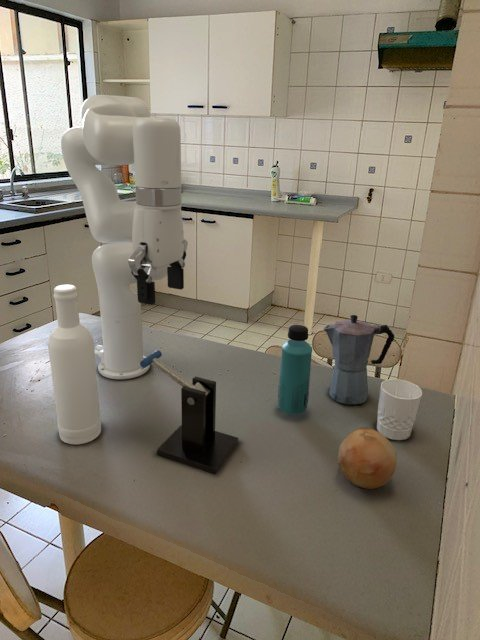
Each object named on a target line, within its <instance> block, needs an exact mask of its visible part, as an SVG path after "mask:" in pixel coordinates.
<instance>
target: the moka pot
mask: <svg viewBox="0 0 480 640" xmlns="http://www.w3.org/2000/svg"><path fill="white" fill-rule="evenodd" d="M322 330H323V331H325V333H326V335H327V338H328V340H329V342H330V344H331V347H332V357H333V358H334V365H333V366H332V370H333V372H332V376H331V381H330V387H329V391H328V394H329V396H330V398H331V399H333V401H335V402H337V403H340V404H344V405H360V404H363V403H365V402H366V401H367V400H368V397H369V384H368V383H369V382H368V368H367V367H368V363H369V358H370V354H371V351H372V346H373V342H374V337H375V335H382V334H386V335H387V336H388V337H387V338H386V340H385V344H384V345H383V348H382V350H381V353H380V355H379V357H378V358H377V359H371V360H370V363H371V364H372V365H381V364H382V363H383V361H384V360H385V357H386V355H387V354H388V351H389V349H390V347H391V345H392V343H393V342H394V340H395V334H394V333H393V331H392V330H391V329H390V326H389V327H388V324H383V325H377V324H373V325H372V324H370V323H369V322H367V321H361V320H358V315H356V314H351V315H350V319H346V320H345V319H344V320H337V321H335V322H334V323H330V324H327V325H326V326H324V327H323V328H322Z"/></svg>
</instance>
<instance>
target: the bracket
mask: <svg viewBox="0 0 480 640" xmlns="http://www.w3.org/2000/svg"><path fill="white" fill-rule="evenodd" d="M191 380H192V382H191V383H192V384H193V385H195V384H197V383H198V382H199V383H200V384H201V385H203V386H204V387H206V388H207V389H208V390H210V393H209V394H208V396H207V398H206V392H204V391H200V390H197V389H193V388H189V387H185V386H184V387H182V386H181V389H180V390H181V391H180V394H181V395H180V399H181V400H180V401H181V424H180V425H179V426H178V427H177V429H175V430H174V431H173V433H171V435H169V437H168V438H167V439H166V440H165V441H164V442H163V443H162V444H161V445H160V446H159V447H158V448H157V449H156V455H157V456H160V457H162V458H166V459H169V460H172V461H173V462H174V461H175V462H177V463H180V464H184V465H186V466H189V467H192V468H195V469H199V470H202V471H205V472H206V473H210V474H213V475H216V474H217V473H218V471H219V470H220V469H221V467H223V464H224V463H225V462H226V460H227V459H228V458H229V456H230V455H231V453H232V452H233V451H234V450H235V448H236V447H237V445H238V444H239V437H237V436H233V435H230V434H227V433H223V432H221V431H217V430H216V406H217V405H216V404H217V381H214V380H211V379H207V378H204V377H199V376H194V377H192V379H191Z"/></svg>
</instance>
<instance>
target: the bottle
mask: <svg viewBox="0 0 480 640" xmlns="http://www.w3.org/2000/svg"><path fill="white" fill-rule="evenodd" d="M78 297H79V294H78V291H77V287H76V286H75V285H73V284H69V283H68V284H65V283H64V284H59V285H57V286H55V287H54V288H53V298H54V302H55V311H56V319H57V325H56V326H55V327H54V328H53V329H52V331H51V332H50V334H49V338H48V342H47V350H48V357H49V365H50V372H51V373H50V374H51V381H52V388H53V389H52V390H53V396H54V403H55V412H56V419H57V422H56V423H57V430H58V435H59V439H60V440H61V441H62V442H63V443H66V444H68V445H83V444H84V445H85V444H87V443H90V442H92V441H93V440H95V439H97V438H98V436H100V434H101V431H102V417H101V411H100V401H99V399H100V398H99V388H98V376H97V375H98V374H97V364H96V356H95V352H94V350H95V342H94V338H93V336H92V334H91V332H90V330H89V328H88V327H86V326H85V325H84V324H82V323H81V322H80V314H79V302H78Z"/></svg>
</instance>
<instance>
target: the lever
mask: <svg viewBox="0 0 480 640" xmlns="http://www.w3.org/2000/svg"><path fill="white" fill-rule="evenodd" d="M162 355H163V353H162V351H161V350H159V349H157V350H155V351H153V352H152V353H151V354H149V355H147V356H145V357H146V358H145V359H143V360H142V361H141V362H140V365H141V367H143V368H146V367H147V366H149V365H150V366H151V365H152V366H154V367H155V368H156V369H157V370H159V371H160V372H162V373H163V374H165V376H167V377H169V378H170V379H171V380H173V382H176V383H177V384H178V385H180V386H181V388H182V387H184V386H185V387H189V388H193V389H197V390H200V391H204V392H206V398H207V396H208V394H209V393H210V390H208V389H207V388H206V387H204V386H203V385H201V384H200V383H199V382H198V383H197V384H195V385H193V384H192V382H191V381H189V380H188V379H187V378H185V377H184V376H182V375H180V374H179V373H178V372H176V371H175V370H174V369H173V368H171V366H168V365H167V364H166V363H164V362H163V361H162V360H160V358H161V357H162Z"/></svg>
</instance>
